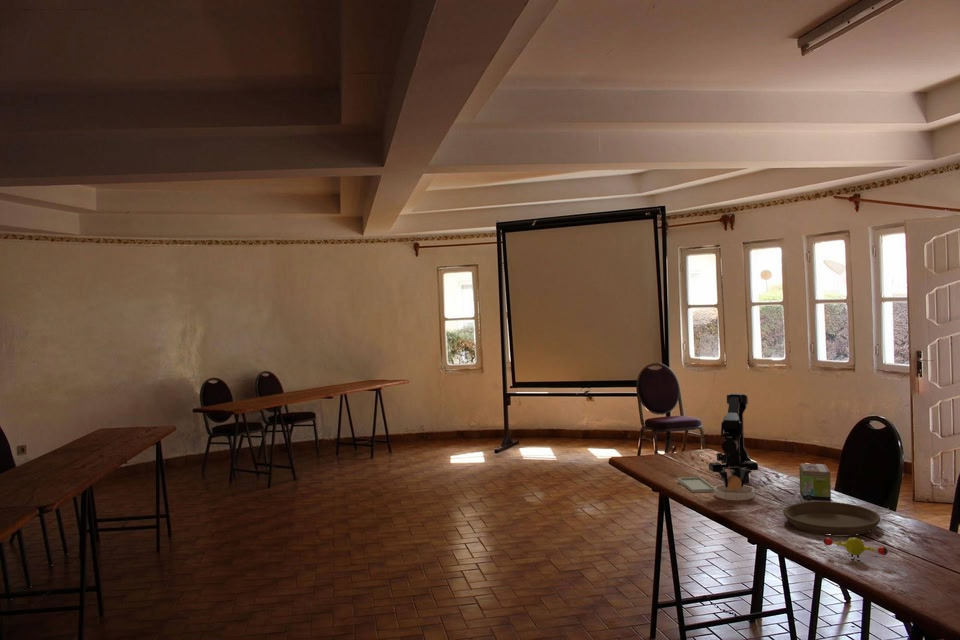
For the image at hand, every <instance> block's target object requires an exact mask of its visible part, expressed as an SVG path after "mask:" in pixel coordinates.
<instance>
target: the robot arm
mask: <svg viewBox="0 0 960 640" xmlns="http://www.w3.org/2000/svg"><path fill="white" fill-rule="evenodd" d="M726 404H727V405H728V409H727V414H726V415H724V417H723V418H722V421H721V429H720V437H723V438H724V441H723V442H722V443H721V449H722V451H723V452H717V453H716V461H717V462H714V461H713V462H709V464H708V470H709V471H710V472H712V473H718V474H719V475H720V476H721V479H722V482H723V484H725V487H726V488H727V486H728V482H727V478H728V472H727V471H726V470H730V471H731V472H730V474H731V475H730V476H737V477H739V478H740V480H741V482H742V485H741V487H743V485H745V484H747V483H750V474H751V473H753V472H752V471H758V470H759V464H758V463H757V462H755V461H753V460H752V459H751V457H750V456H749V452H748V450H747V448H746V447H745V435H744V431H745V430H744V413H745V411H746V409H747V406H748V405H749V397H748V395H746V394H745V393H737V392H736V393H734V392H732V393H729V394H727V395H726ZM723 453H724V454H723ZM720 462H721V463H720Z"/></svg>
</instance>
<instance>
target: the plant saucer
mask: <svg viewBox="0 0 960 640" xmlns="http://www.w3.org/2000/svg"><path fill="white" fill-rule="evenodd" d="M782 513H783V516H784V517H785V519H786V520H787V521H788V522H790V524H791V525H792V526H793V527H794V528H796V529H798V528H799V530H801V531H803V530H804V532H807V531H808V532H807V533H810V532H812V534H815V533H817V534H816V535H821V534H831V535H856V534H863V533H867V532H869V531H871V532H872V531H873V530H874V529H875V528H876V527H877V526H878V525H879V523H880V522H881V516H880V515H879V513H877V512H876V511H875V510H872V509H869V508H866V507H863V506H860V505H857V504H856V505H855V504H850V503H845V502H835V501H834V502H833V501H831V502H804V503H802V502H798V503H794V504H790V505H788V506H786V507H784V509H783V510H782ZM869 533H870V532H869ZM867 534H868V533H867ZM863 535H864V534H863Z"/></svg>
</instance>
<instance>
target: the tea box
mask: <svg viewBox="0 0 960 640" xmlns="http://www.w3.org/2000/svg"><path fill="white" fill-rule="evenodd" d="M798 467H799V498H800V501H801V502H800V503H804V502H832V491H831V490H832V489H831V487H832V486H831V471H830V469H829V468H828V466H827V465H826V463H824V464H823V463H799V465H798Z"/></svg>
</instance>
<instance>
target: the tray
mask: <svg viewBox="0 0 960 640" xmlns="http://www.w3.org/2000/svg"><path fill="white" fill-rule="evenodd" d="M677 482H678V484H680V485H681V486H684V487H685V488H687V489H688V490H689V491H690V492H691V493H694V494H695V493H711V492H712V493H714V487H715V486H714V485H712V484H711V483H709V482H708V481H706V480H705V479H704V478H702V477H701V476H691V477H690V476H688V477H687V476H686V477H677Z"/></svg>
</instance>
